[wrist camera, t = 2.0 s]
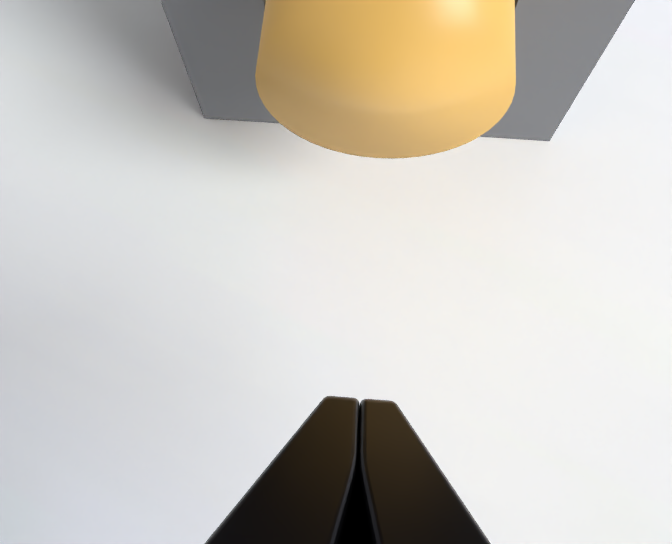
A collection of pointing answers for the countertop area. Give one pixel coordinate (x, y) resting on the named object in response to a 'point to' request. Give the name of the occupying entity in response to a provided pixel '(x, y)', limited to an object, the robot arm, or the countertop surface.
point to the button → (387, 72)
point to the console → (518, 123)
